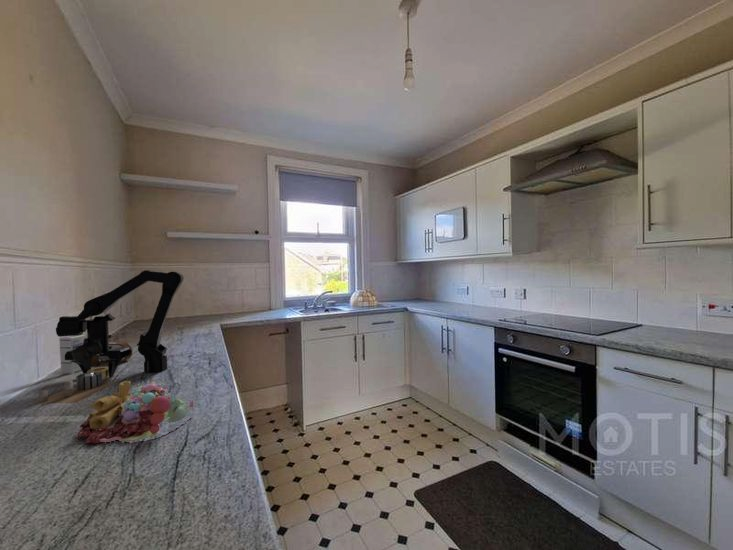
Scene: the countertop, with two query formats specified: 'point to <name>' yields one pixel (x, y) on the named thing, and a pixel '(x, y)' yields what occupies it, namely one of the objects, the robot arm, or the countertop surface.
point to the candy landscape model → (132, 414)
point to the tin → (114, 346)
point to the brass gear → (103, 369)
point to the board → (76, 394)
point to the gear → (89, 380)
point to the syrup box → (68, 345)
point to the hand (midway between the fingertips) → (99, 377)
